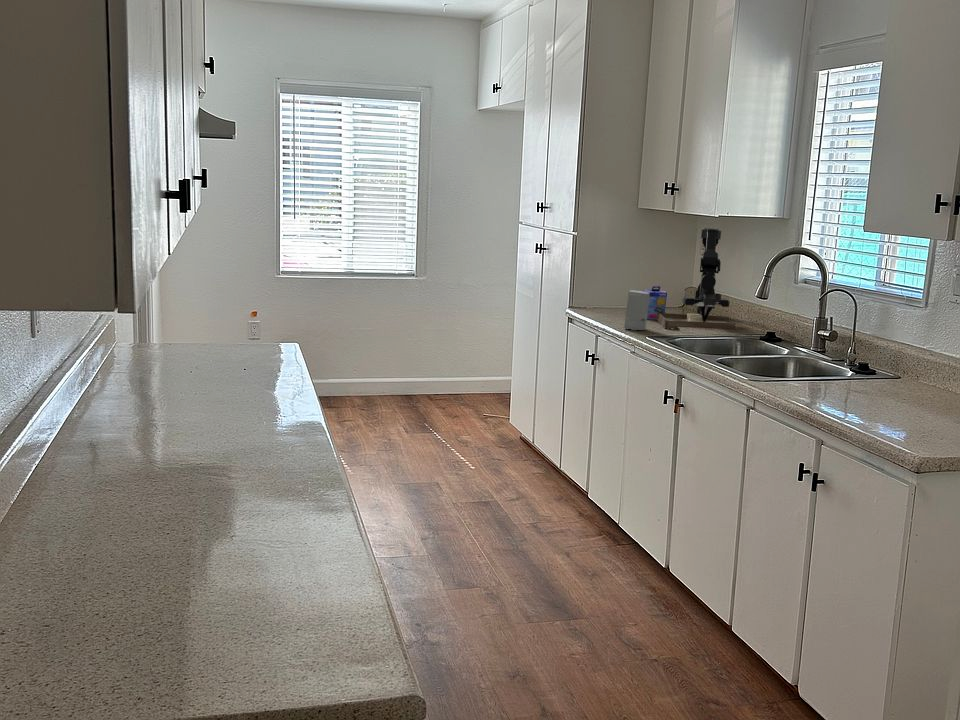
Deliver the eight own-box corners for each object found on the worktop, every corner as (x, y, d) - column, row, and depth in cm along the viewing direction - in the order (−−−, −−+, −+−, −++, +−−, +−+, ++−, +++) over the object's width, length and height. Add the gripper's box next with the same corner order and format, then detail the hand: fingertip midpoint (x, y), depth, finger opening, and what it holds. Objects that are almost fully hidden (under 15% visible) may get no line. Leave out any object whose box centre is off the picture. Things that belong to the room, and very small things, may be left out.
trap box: (657, 320, 406) (657, 312, 405) (723, 323, 406) (724, 315, 406) (665, 328, 389) (665, 320, 388) (734, 331, 389) (735, 323, 388)
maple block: (686, 321, 399) (687, 313, 398) (698, 322, 399) (699, 314, 399) (689, 323, 394) (690, 315, 394) (701, 324, 394) (702, 316, 394)
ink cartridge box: (643, 319, 408) (646, 286, 405) (639, 317, 414) (642, 284, 410) (665, 319, 410) (668, 286, 407) (660, 317, 416) (663, 284, 412)
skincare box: (623, 329, 382) (627, 291, 379) (626, 326, 389) (629, 289, 386) (644, 331, 380) (648, 293, 377) (646, 328, 387) (650, 290, 383)
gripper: (689, 287, 386) (686, 324, 389) (734, 289, 386) (730, 326, 389) (683, 283, 396) (680, 319, 400) (727, 285, 397) (723, 321, 400)
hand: (703, 321), depth 397 cm, fingers closed
